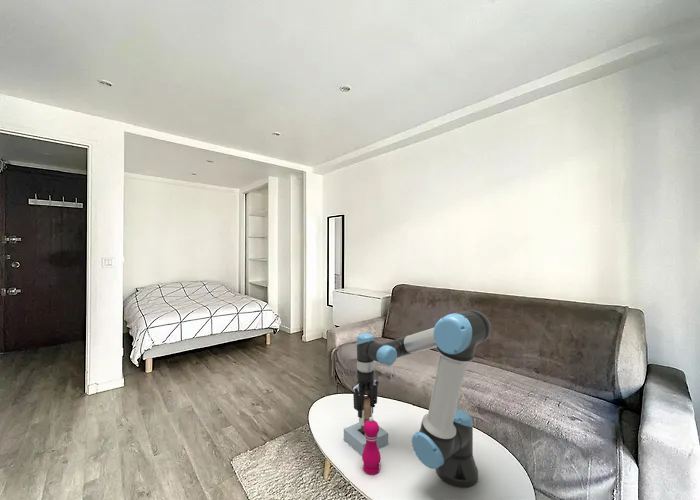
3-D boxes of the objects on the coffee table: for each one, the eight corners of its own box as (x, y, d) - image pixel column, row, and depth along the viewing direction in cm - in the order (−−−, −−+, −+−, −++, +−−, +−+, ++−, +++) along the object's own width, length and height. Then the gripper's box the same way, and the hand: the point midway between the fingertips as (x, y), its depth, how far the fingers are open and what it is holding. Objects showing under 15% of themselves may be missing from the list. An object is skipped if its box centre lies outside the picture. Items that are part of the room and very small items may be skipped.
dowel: (372, 436, 134) (371, 398, 135) (365, 439, 132) (364, 401, 132) (366, 431, 138) (366, 394, 138) (359, 435, 135) (359, 397, 136)
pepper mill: (365, 477, 114) (365, 423, 114) (359, 464, 121) (359, 413, 121) (383, 473, 116) (383, 420, 116) (376, 461, 123) (376, 411, 123)
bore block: (388, 444, 133) (388, 432, 133) (363, 456, 125) (363, 444, 125) (368, 429, 145) (368, 418, 145) (343, 440, 136) (343, 428, 136)
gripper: (374, 362, 143) (374, 413, 143) (344, 371, 133) (345, 425, 133) (385, 367, 137) (385, 420, 137) (355, 377, 127) (355, 433, 127)
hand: (365, 422), depth 135 cm, fingers closed on dowel, 4 cm apart
